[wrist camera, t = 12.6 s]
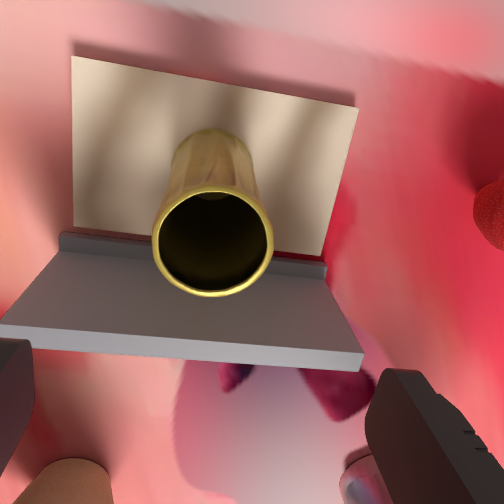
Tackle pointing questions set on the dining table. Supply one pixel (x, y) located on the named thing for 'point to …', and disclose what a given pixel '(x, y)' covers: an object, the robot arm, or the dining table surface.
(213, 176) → the vase
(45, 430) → the dining table surface
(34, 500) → the plant pot
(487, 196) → the strawberry
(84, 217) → the board
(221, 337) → the screen
